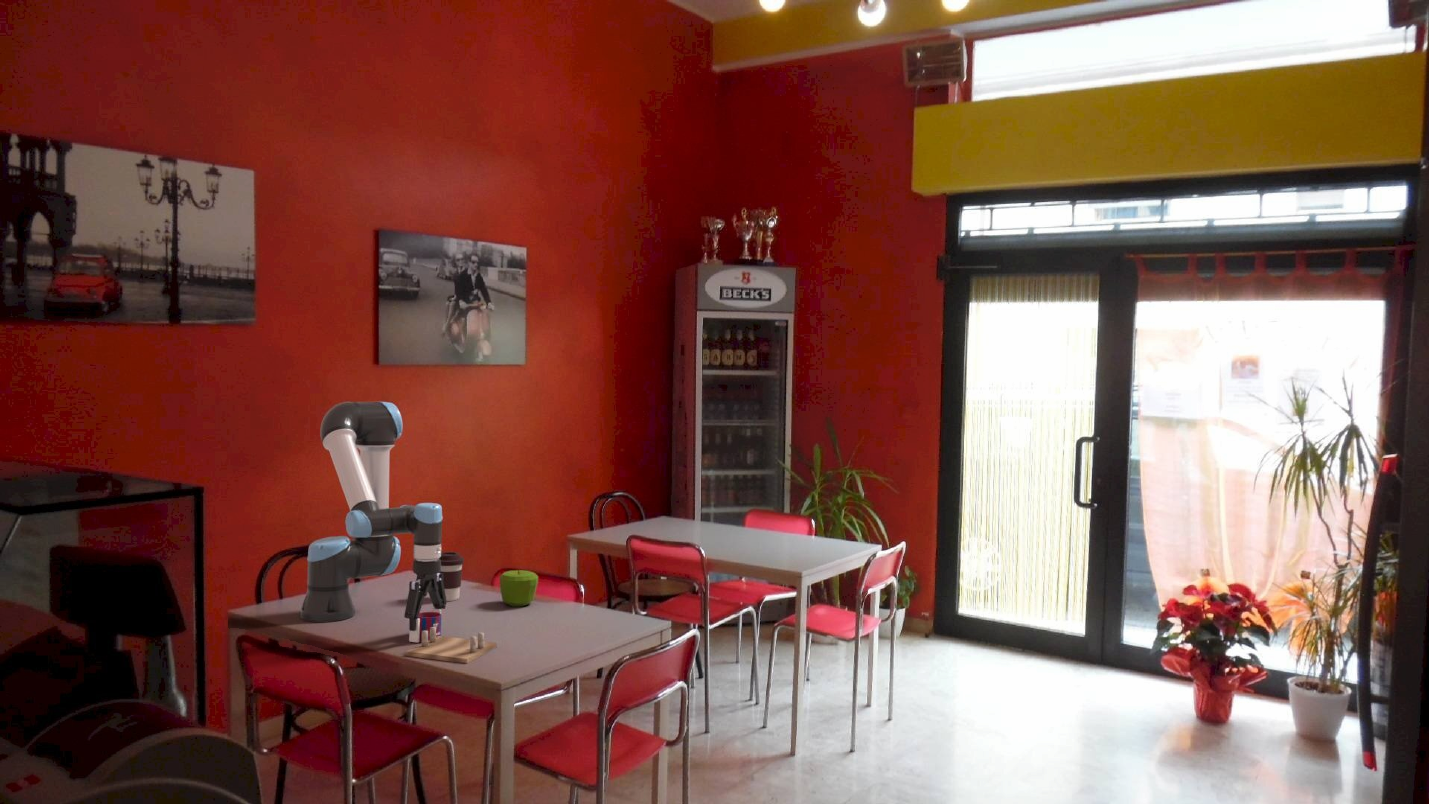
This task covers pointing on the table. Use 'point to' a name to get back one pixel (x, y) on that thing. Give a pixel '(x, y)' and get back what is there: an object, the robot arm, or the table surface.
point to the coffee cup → (451, 574)
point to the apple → (518, 587)
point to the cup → (429, 623)
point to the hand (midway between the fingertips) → (425, 636)
